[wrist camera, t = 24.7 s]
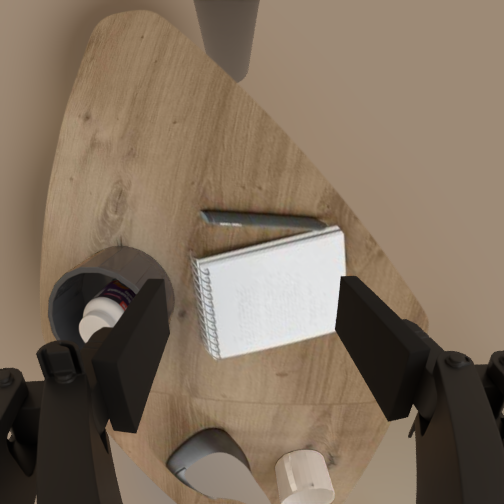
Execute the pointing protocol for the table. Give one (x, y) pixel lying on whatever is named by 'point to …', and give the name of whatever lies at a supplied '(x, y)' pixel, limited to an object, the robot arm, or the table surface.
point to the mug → (303, 478)
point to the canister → (100, 286)
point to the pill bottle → (105, 308)
